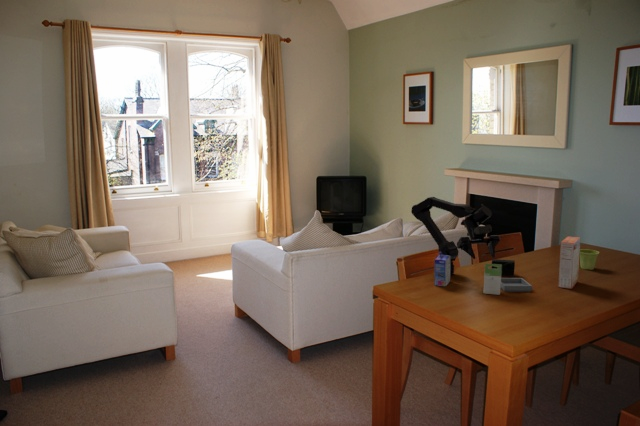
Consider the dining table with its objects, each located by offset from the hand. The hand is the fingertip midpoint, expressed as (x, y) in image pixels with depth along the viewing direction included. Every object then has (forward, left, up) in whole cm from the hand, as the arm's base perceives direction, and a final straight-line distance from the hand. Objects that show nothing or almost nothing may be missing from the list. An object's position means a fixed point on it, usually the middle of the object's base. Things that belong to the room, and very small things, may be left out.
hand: (484, 258), depth 239 cm
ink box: (+2, -7, -14) cm, 16 cm away
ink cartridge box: (-16, +8, -14) cm, 23 cm away
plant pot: (+62, +32, -14) cm, 71 cm away
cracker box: (+40, +5, -14) cm, 42 cm away
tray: (+14, +1, -14) cm, 19 cm away
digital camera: (+16, +21, -14) cm, 29 cm away
